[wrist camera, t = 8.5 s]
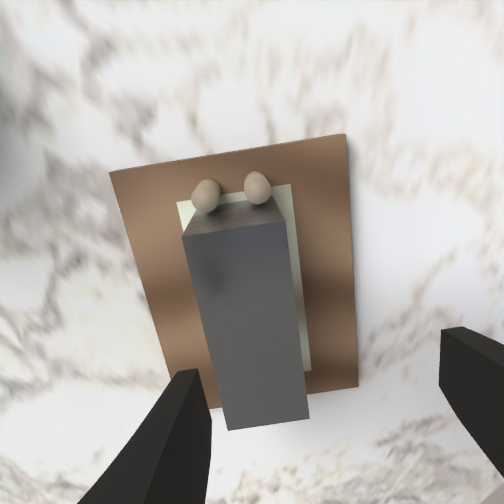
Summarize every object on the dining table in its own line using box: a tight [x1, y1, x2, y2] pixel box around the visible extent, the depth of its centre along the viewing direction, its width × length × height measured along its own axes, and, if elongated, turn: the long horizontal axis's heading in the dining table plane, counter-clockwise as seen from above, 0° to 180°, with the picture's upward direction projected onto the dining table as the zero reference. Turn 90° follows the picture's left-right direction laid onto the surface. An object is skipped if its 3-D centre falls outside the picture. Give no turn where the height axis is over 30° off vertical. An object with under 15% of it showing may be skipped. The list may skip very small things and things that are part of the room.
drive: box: [181, 196, 310, 431], centre depth 16 cm, size 10×4×5 cm, turn 9°
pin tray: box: [109, 134, 359, 409], centre depth 18 cm, size 16×12×4 cm
